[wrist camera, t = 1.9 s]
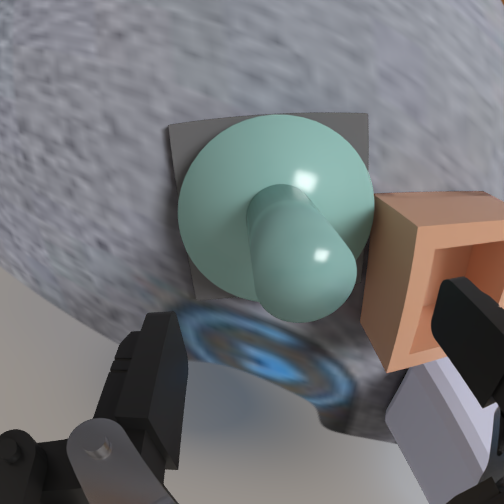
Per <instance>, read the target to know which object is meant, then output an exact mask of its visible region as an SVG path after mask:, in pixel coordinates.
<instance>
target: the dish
mask: <svg viewBox="0 0 504 504" xmlns="http://www.w3.org/2000/svg"><path fill="white" fill-rule="evenodd" d="M462 276H464V277H466V278H468V279H469V280H470V281H471V282H472V283H473V284H474V285H475V286H476V287H478V288H479V289H480V290H481V291H482V292H484V293H485V294H487V295H489V296H490V297H491V298H492V299H494V300H495V301H496V302H497V303H498V304H499V307H502V308H503V309H504V202H503V201H501V200H499V199H497V198H495V197H494V196H492V195H490V194H488V193H486V192H484V191H445V192H403V193H377V194H374V217H373V224H372V228H371V231H370V242H369V253H368V263H367V273H366V281H365V289H364V297H363V304H362V312H361V318H360V323H361V325H362V327H363V329H364V330H365V332H366V334H367V336H368V338H369V340H370V342H371V344H372V346H373V348H374V350H375V352H376V354H377V355H378V357H379V359H380V361H381V363H382V365H383V367H384V369H385V371H386V373H389V372H394V371H398V370H402V369H405V368H409V367H413V366H417V365H420V364H424V363H427V362H431V361H434V360H437V359H441V358H444V357H447V355H446V354H445V352H444V351H443V350H442V348H441V347H440V346H439V344H438V343H437V341H436V340H435V339H434V337H433V335H432V331H431V319H432V315H433V312H434V308H435V304H436V300H437V296H438V292H439V288H440V285H441V283H442V281H443V280H445V279H451V278H456V277H462Z"/></svg>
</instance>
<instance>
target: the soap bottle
mask: <svg viewBox="0 0 504 504" xmlns="http://www.w3.org/2000/svg"><path fill="white" fill-rule="evenodd" d="M497 407H498V404H497V403H496V402H495V403H493V404H491V405H489V406H487V407H485V408H483V409H482V407H481V405H480V404H479V402H478V401H477V399H476V398H475V396H474V395H473V393H472V392H471V390H470V389H469V387H468V386H467V384H466V383H465V381H464V380H463V378H462V377H461V375H460V374H459V372H458V371H457V369H456V368H455V367H454V365H453V364H452V362H451V361H450V359H449V358H448V357H444V358H441V359H437V360H434V361H431V362H427V363H424V364H420V365H417V366H413V367H409V369H408V371H407V373H406V375H405V377H404V379H403V381H402V383H401V384H400V386H399V388H398V390H397V392H396V394H395V395H394V397H393V399H392V401H391V402H390V404H389V406H388V408H387V409H386V415H385V422H386V424H387V426H388V428H389V430H390V431H391V433H392V435H393V437H394V439H395V440H396V442H397V444H398V446H399V448H400V449H401V451H402V453H403V455H404V457H405V459H406V461H407V462H408V464H409V466H410V468H411V470H412V472H413V474H414V476H415V477H416V479H417V481H418V483H419V485H420V487H421V489H422V491H423V492H424V495H425V496H426V498H427V500H428V502H429V504H446V503H447V502H448V501H450V500H451V499H452V498H453V497H455V496H456V495H458V494H460V493H462V492H464V491H466V490H468V489H470V488H472V487H473V486H475V485H477V484H478V482H479V480H480V478H481V476H482V474H483V473H484V471H485V469H486V467H487V464H488V461H489V454H490V447H491V439H492V430H493V420H494V412H495V410H496V408H497Z"/></svg>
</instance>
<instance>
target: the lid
mask: <svg viewBox="0 0 504 504" xmlns="http://www.w3.org/2000/svg"><path fill="white" fill-rule="evenodd" d="M373 217H374V193H373V186H372V183H371V179H370V176H369V173H368V171H367V169H366V166H365V164H364V163H363V161H362V159H361V158H360V156H359V154H358V153H357V152H356V151H355V149H354V148H353V147H352V146H351V145H350V143H349V142H347V141H346V140H345V139H344V138H343V137H342V136H341V135H339V134H338V133H337V132H335V131H334V130H332V129H331V128H329V127H327V126H325V125H323V124H321V123H319V122H317V121H313V120H310V119H307V118H304V117H298V116H292V115H283V114H271V115H262V116H257V117H253V118H249V119H245V120H243V121H241V122H238V123H236V124H234V125H232V126H230V127H228V128H227V129H225V130H223V131H222V132H220V133H219V134H218V135H216V136H215V137H214V138H213V139H211V140H210V141H209V142H208V143H207V145H206V146H205V147H204V148H203V149H202V150H201V151H200V153H199V154H198V155H197V157H196V158H195V160H194V161H193V163H192V164H191V166H190V168H189V170H188V172H187V174H186V176H185V178H184V181H183V184H182V187H181V191H180V196H179V201H178V223H179V230H180V234H181V238H182V241H183V244H184V246H185V249H186V251H187V253H188V255H189V256H190V258H191V260H192V262H193V263H194V264H195V265H196V267H197V268H198V269H199V271H200V272H201V273H202V274H203V275H204V276H205V277H206V278H207V279H208V280H210V281H211V282H212V283H214V284H215V285H216V286H218V287H219V288H221V289H223V290H224V291H226V292H228V293H230V294H233V295H235V296H237V297H240V298H244V299H247V300H252V301H257V302H260V304H261V305H262V306H263V308H264V309H265V310H266V311H267V312H268V313H270V314H271V315H273V316H274V317H276V318H278V319H281V320H284V321H287V322H293V323H304V322H311V321H315V320H319V319H321V318H324V317H326V316H328V315H329V314H331V313H333V312H334V311H336V310H337V309H338V308H339V307H340V306H341V305H342V304H343V303H344V302H345V301H346V300H347V298H348V297H349V295H350V294H351V292H352V290H353V288H354V285H355V282H356V276H357V267H356V262H355V261H356V260H357V258H358V257H359V255H360V254H361V252H362V250H363V248H364V246H365V245H366V242H367V240H368V237H369V235H370V231H371V228H372V224H373Z"/></svg>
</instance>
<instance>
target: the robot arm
mask: <svg viewBox="0 0 504 504" xmlns="http://www.w3.org/2000/svg"><path fill="white" fill-rule="evenodd" d="M431 331H432V335H433V337H434V339H435V340H436V341H437V343H438V344H439V346H440V347H441V348H442V350H443V351H444V352H445V354H446V355H447V357H448V358H449V359H450V361H451V362H452V364H453V365H454V367H455V368H456V369H457V371H458V372H459V374H460V375H461V377H462V378H463V380H464V381H465V383H466V384H467V386H468V387H469V389H470V390H471V392H472V393H473V395H474V396H475V398H476V399H477V401H478V402H479V404H480V405H481V407H482V409H483V408H485V407H487V406H489V405H491V404H493V403H495V402H496V403H497V404H498V407H497V408H496V410H495V412H494V420H493V430H492V439H491V447H490V454H489V461H488V464H487V467H486V469H485V471H484V473H483V474H482V476H481V478H480V480H479V482H478V484H477V485H475V486H473V487H472V488H470V489H468V490H466V491H464V492H462V493H460V494H458V495H456V496H455V497H453V498H452V499H451V500H450V501H448V502H447V503H446V504H504V309H503V308H502V307H499V304H498V303H497V302H496V301H495V300H494V299H492V298H491V297H490V296H489V295H487V294H485V293H484V292H482V291H481V290H480V289H479V288H478V287H476V286H475V285H474V284H473V283H472V282H471V281H470V280H469V279H468V278H466V277H464V276H462V277H456V278H451V279H445V280H443V281H442V283H441V285H440V288H439V292H438V296H437V300H436V304H435V308H434V312H433V315H432V319H431ZM110 371H111V372H109V374H108V377H107V380H106V383H105V385H104V388H103V391H102V394H101V397H100V400H99V402H98V405H97V409H96V411H95V414H94V417H93V419H90V420H87V421H85V422H83V423H81V424H80V425H79V426H77V427H76V428H75V429H74V430H73V431H72V433H71V434H70V436H69V438H68V439H65V440H58V441H50V442H42V443H36V442H35V440H33V438H32V437H31V436H30V435H29V434H28V433H26V432H25V431H22V430H18V429H14V430H9V431H6V432H4V433H3V434H1V435H0V504H179V503H178V502H177V501H176V500H175V499H174V497H173V496H172V495H171V493H170V492H169V491H168V489H167V488H166V487H165V486H164V484H163V483H164V473H165V469H171V470H178V466H179V454H180V442H181V433H182V422H183V413H184V403H185V395H186V386H187V378H188V359H187V353H186V349H185V345H184V342H183V338H182V334H181V330H180V326H179V323H178V319H177V315H176V313H175V312H174V311H171V312H155V313H147V315H146V317H145V320H144V323H143V326H142V329H141V331H134V332H131V333H130V334H129V335H128V336H127V337H126V338H125V339H124V340H123V341H122V342H121V343H120V345H119V347H118V350H117V353H116V355H115V361H113V363H112V366H111V369H110Z"/></svg>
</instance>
